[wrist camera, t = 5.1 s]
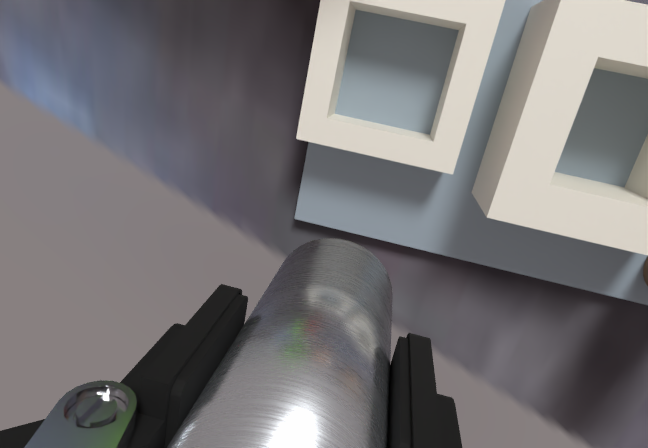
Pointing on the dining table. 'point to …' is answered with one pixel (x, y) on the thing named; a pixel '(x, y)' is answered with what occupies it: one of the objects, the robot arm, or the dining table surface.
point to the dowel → (645, 271)
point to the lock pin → (305, 360)
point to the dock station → (485, 133)
